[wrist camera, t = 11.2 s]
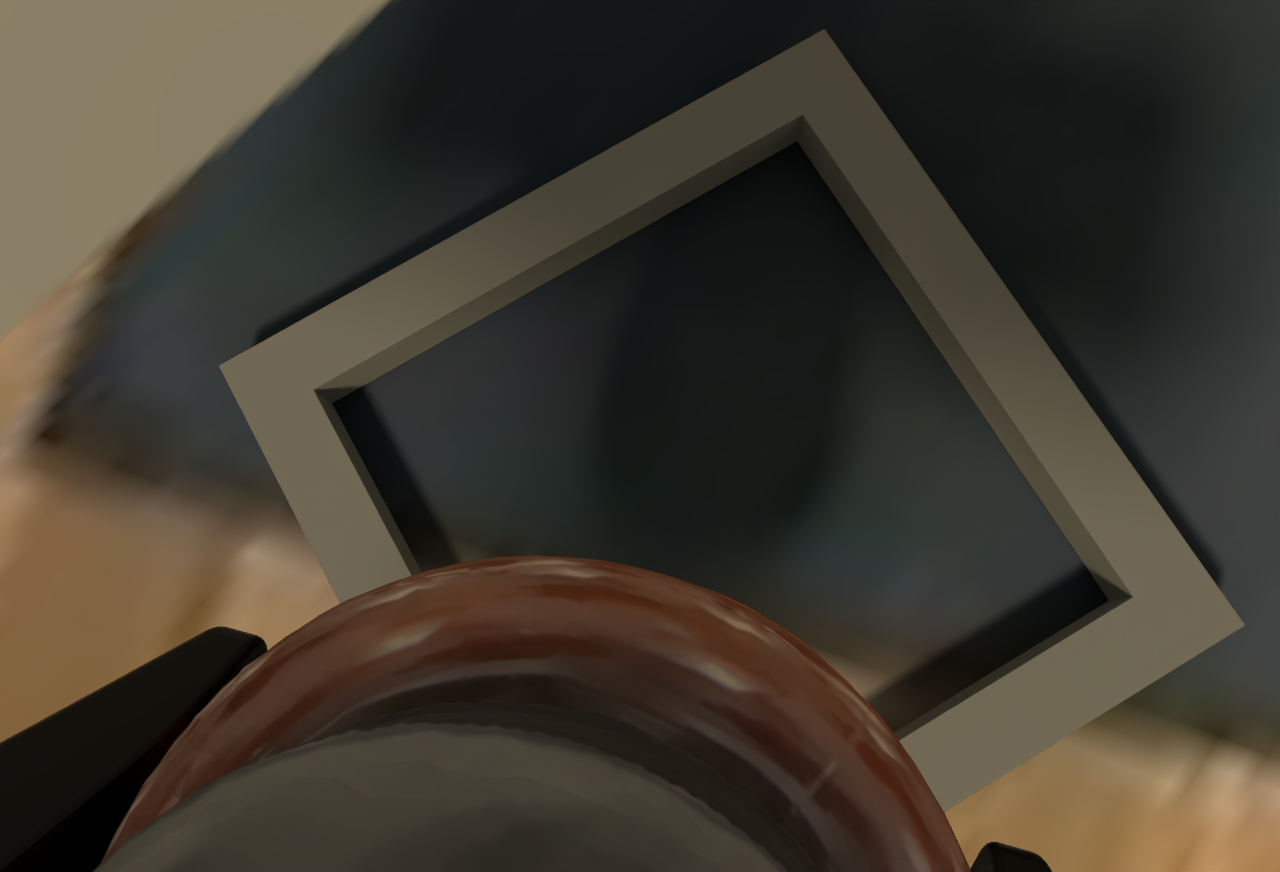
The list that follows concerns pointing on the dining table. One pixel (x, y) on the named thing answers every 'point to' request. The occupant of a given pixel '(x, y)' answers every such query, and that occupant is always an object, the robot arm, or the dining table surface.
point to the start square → (932, 287)
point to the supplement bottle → (537, 741)
